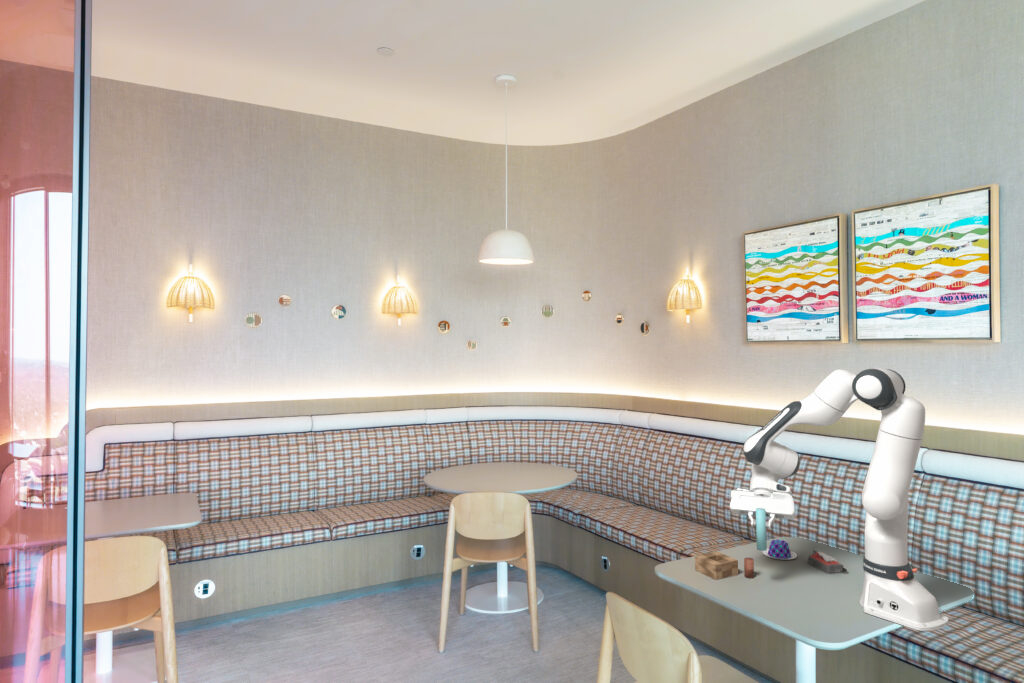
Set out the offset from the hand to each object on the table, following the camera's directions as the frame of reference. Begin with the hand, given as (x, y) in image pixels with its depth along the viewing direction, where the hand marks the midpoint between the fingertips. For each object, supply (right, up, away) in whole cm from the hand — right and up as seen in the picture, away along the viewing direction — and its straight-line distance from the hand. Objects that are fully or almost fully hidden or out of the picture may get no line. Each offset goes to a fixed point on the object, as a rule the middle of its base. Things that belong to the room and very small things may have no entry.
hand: (760, 527), depth 199 cm
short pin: (0, -20, +9) cm, 22 cm away
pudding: (+19, -20, +29) cm, 40 cm away
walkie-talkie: (+30, -20, +20) cm, 41 cm away
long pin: (0, -7, +1) cm, 7 cm away
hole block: (-10, -20, +14) cm, 26 cm away
